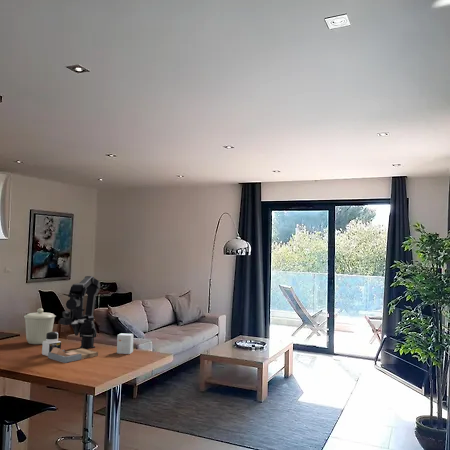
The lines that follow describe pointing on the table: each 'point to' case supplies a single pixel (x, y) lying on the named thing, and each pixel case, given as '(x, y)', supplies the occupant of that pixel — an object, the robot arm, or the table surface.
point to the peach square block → (70, 354)
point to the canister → (38, 326)
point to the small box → (124, 343)
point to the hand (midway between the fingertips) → (76, 335)
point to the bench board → (84, 353)
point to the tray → (63, 358)
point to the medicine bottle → (50, 343)
